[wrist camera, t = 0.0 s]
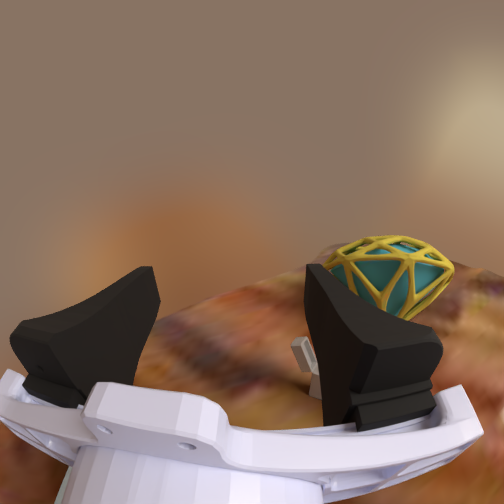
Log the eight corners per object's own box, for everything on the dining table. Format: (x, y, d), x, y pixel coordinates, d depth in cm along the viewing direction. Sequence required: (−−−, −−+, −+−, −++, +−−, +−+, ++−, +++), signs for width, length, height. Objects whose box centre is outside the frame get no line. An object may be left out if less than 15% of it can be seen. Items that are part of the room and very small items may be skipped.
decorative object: (439, 322, 45) (442, 249, 46) (463, 346, 25) (469, 228, 26) (335, 318, 57) (339, 248, 58) (298, 337, 37) (304, 229, 38)
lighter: (343, 395, 29) (356, 350, 26) (338, 405, 28) (351, 360, 25) (293, 378, 33) (297, 332, 30) (287, 387, 32) (290, 341, 29)
